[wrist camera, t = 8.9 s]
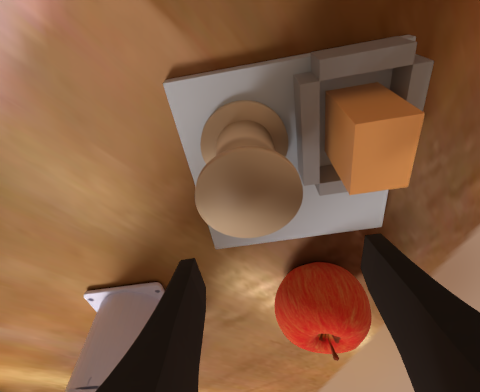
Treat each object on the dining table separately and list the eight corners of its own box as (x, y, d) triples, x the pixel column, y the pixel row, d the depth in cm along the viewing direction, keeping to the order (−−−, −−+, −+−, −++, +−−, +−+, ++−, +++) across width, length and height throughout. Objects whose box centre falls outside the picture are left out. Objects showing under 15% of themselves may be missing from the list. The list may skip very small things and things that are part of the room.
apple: (369, 258, 27) (413, 343, 21) (323, 303, 31) (348, 385, 25) (296, 236, 25) (319, 323, 19) (258, 288, 29) (266, 373, 23)
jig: (377, 220, 24) (393, 244, 22) (216, 242, 25) (214, 267, 23) (409, 30, 16) (439, 37, 13) (164, 76, 17) (154, 90, 14)
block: (370, 143, 19) (407, 186, 15) (324, 150, 19) (349, 195, 15) (377, 81, 16) (425, 113, 12) (325, 91, 17) (355, 124, 13)
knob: (289, 172, 20) (308, 232, 15) (211, 184, 20) (205, 247, 16) (283, 92, 17) (305, 137, 12) (191, 108, 17) (175, 158, 12)
